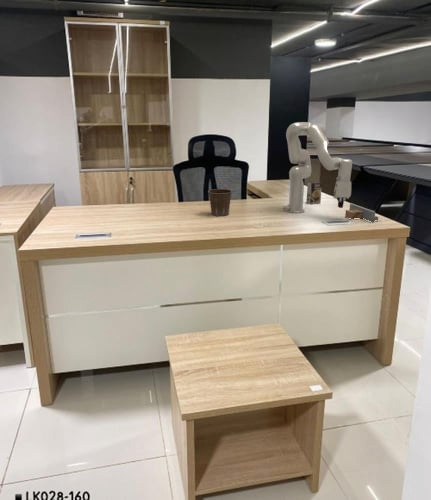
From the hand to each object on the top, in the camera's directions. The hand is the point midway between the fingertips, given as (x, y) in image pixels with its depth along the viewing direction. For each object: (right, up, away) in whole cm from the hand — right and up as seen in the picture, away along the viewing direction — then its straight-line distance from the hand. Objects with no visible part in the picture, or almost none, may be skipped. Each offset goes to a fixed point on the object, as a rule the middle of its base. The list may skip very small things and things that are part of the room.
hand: (340, 207), depth 275 cm
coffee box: (-6, +8, +51) cm, 52 cm away
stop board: (+17, -6, +6) cm, 19 cm away
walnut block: (+10, -7, +5) cm, 13 cm away
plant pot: (-78, -3, +16) cm, 79 cm away
